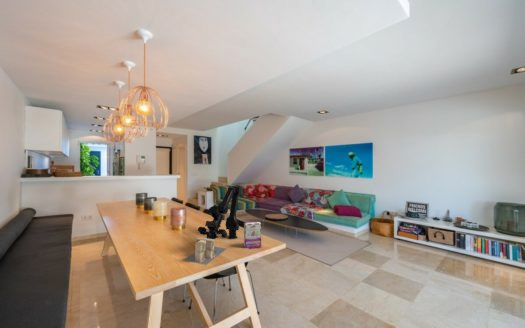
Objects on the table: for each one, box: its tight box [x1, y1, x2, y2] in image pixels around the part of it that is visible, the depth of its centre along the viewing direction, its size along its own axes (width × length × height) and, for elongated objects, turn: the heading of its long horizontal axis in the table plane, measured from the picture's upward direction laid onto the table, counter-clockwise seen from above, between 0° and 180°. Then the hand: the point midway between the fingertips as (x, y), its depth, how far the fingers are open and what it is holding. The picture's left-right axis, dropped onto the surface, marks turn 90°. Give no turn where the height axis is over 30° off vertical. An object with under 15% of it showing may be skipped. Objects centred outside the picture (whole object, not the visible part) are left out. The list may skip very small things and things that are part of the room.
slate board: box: [182, 246, 227, 266], centre depth 130 cm, size 24×16×1 cm, turn 162°
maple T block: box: [194, 237, 215, 262], centre depth 124 cm, size 9×10×10 cm
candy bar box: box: [243, 221, 262, 249], centre depth 144 cm, size 11×5×16 cm, turn 105°
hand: (207, 244), depth 129 cm, fingers closed, pressing on maple T block
